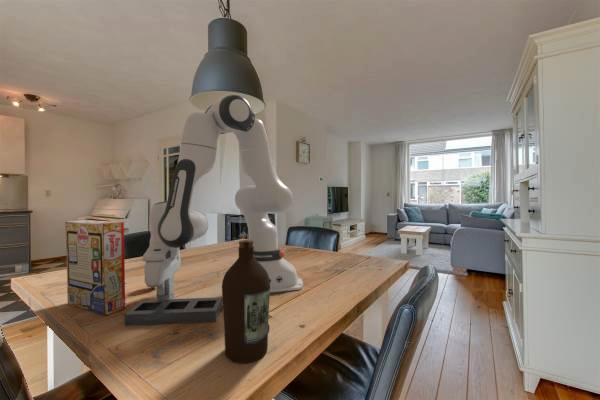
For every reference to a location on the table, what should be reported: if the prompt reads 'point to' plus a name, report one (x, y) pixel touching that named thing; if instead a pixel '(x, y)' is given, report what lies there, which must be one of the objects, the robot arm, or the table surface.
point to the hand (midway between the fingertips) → (165, 291)
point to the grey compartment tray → (174, 311)
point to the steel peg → (167, 289)
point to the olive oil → (246, 307)
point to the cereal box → (95, 265)
